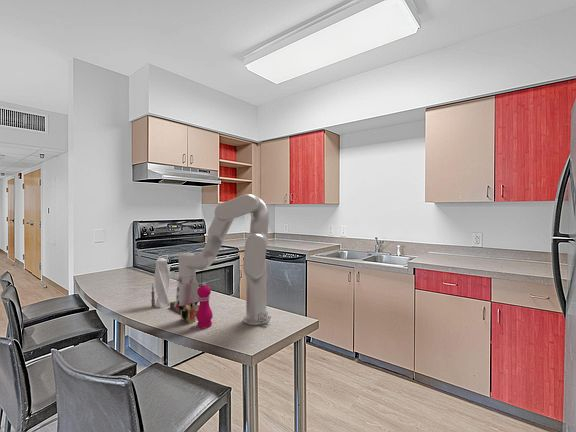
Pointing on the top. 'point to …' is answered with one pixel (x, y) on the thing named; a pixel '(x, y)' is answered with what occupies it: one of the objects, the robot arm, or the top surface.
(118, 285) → the top surface
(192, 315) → the tan rectangular block
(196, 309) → the rail
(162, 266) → the skyscraper
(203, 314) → the pepper mill
